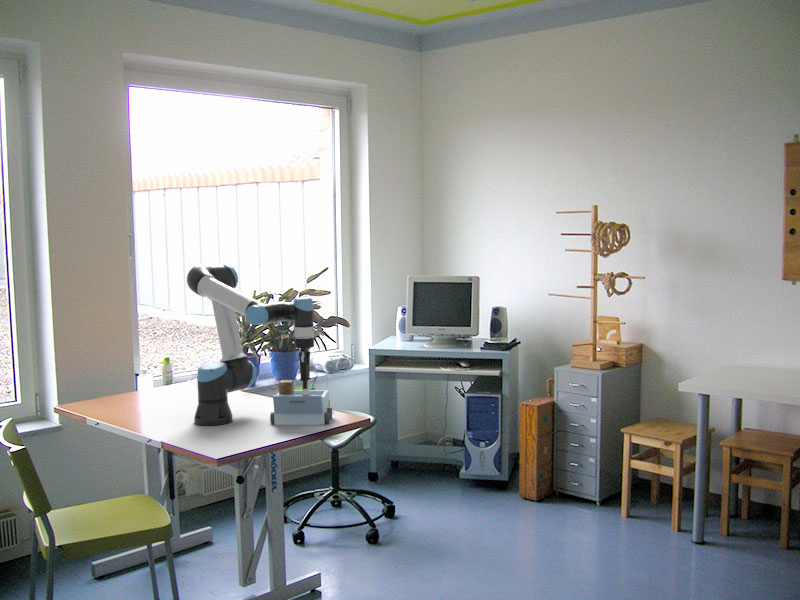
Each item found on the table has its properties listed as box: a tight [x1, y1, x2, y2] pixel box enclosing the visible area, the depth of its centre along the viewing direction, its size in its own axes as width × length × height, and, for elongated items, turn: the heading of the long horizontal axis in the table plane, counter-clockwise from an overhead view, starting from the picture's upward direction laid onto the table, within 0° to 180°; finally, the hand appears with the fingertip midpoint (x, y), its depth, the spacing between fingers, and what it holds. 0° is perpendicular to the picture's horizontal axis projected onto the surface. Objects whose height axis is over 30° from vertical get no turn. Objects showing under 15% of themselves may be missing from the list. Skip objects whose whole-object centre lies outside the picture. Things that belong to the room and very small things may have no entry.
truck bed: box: [269, 389, 333, 426], centre depth 312 cm, size 23×15×11 cm, turn 88°
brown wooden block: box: [278, 379, 295, 395], centre depth 308 cm, size 5×5×12 cm
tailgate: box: [272, 394, 323, 414], centre depth 302 cm, size 19×2×8 cm, turn 88°
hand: (305, 396), depth 302 cm, fingers closed
